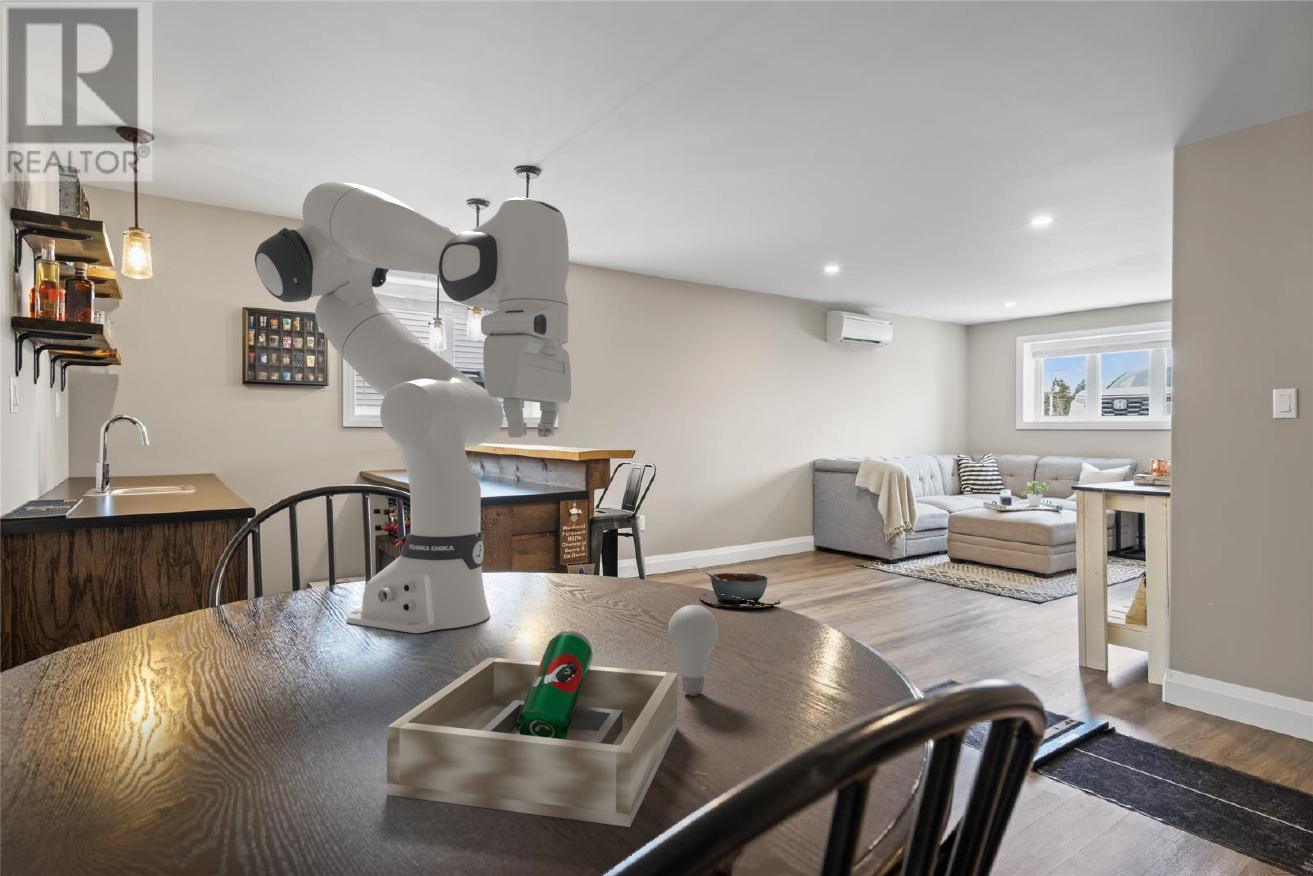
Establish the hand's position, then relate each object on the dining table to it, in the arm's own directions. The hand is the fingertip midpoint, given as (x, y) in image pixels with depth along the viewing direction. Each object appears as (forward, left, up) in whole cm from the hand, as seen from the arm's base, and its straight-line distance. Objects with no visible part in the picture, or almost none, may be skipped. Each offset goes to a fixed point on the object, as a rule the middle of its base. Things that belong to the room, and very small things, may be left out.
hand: (532, 437), depth 92 cm
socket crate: (+10, -20, -31) cm, 38 cm away
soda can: (+10, -22, -28) cm, 37 cm away
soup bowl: (+21, +48, -32) cm, 61 cm away
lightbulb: (+21, 0, -31) cm, 38 cm away
